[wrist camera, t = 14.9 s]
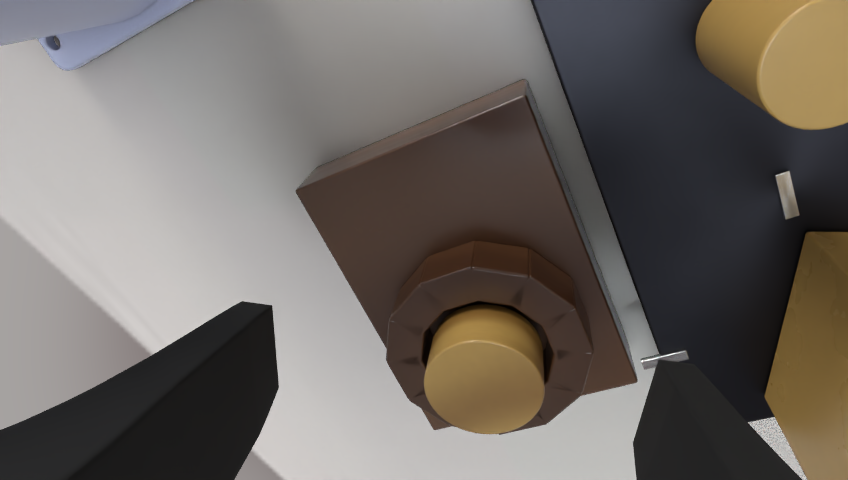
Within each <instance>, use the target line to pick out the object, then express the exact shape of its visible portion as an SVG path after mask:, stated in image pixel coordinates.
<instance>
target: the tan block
mask: <svg viewBox="0 0 848 480" xmlns="http://www.w3.org/2000/svg"><path fill="white" fill-rule="evenodd" d="M765 399H766V401H767V403H768V405H769V407H770V409H771V411H772V413H773V414H774V416H775V418H776V420H777V422H778V424H779V426H780V428H781V430H782V432H783V434H784V435H785V437H786V439H787V441H788V443H789V445H790V447H791V449H792V451H793V453H794V455H795V456H796V458H797V460H798V462H799V464H800V466H801V468H802V470H803V472H804V474H805V476H806V477H807V479H808V480H848V232H806V234H805V238H804V242H803V246H802V250H801V254H800V258H799V262H798V266H797V270H796V274H795V278H794V282H793V286H792V290H791V294H790V298H789V302H788V305H787V309H786V313H785V317H784V321H783V325H782V329H781V333H780V337H779V341H778V345H777V349H776V353H775V357H774V361H773V365H772V369H771V373H770V377H769V381H768V384H767V388H766V392H765Z"/></svg>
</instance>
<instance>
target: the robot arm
mask: <svg viewBox="0 0 848 480" xmlns="http://www.w3.org/2000/svg"><path fill="white" fill-rule="evenodd" d="M193 1H194V0H0V46H2V45H7V44H12V43H17V42H22V41H27V40H32V39H38V40H39V42H40V43H41V45H42V46H43V48H44V49H45V50H46V52H47V53H48V55H49V56H50V58H51V59H52V61H53V62H54V63H55V64H56V65H57V66H58V67H59V68H61V69H62V70H66V71H70V70H74V69H77V68H80V67H81V66H83V65H85V64H87V63H88V62H90V61H92V60H93V59H95V58H97V57H99V56H100V55H102V54H104V53H105V52H107V51H109V50H110V49H112V48H114V47H116V46H117V45H119V44H121V43H122V42H124V41H126V40H128V39H129V38H131V37H133V36H134V35H136V34H138V33H140V32H141V31H143V30H145V29H146V28H148V27H150V26H152V25H153V24H155V23H157V22H158V21H160V20H162V19H164V18H165V17H167V16H169V15H170V14H172V13H174V12H176V11H177V10H179V9H181V8H182V7H184V6H186V5H188V4H189V3H191V2H193ZM54 35H55V36H56V37H57V38H58V39H59V41H60V47H59V46H58V45H57V44H56V43H55V41H54ZM278 388H279V385H278V372H277V360H276V348H275V335H274V323H273V311H272V305H265V304H257V303H250V302H243V301H242V302H240V303H238V304H236V305H235V306H233V307H231V308H229V309H228V310H226V311H224V312H222V313H221V314H219V315H218V316H216V317H214V318H213V319H211V320H209V321H208V322H206V323H204V324H203V325H201V326H200V327H198V328H196V329H195V330H193V331H192V332H190V333H188V334H187V335H185V336H183V337H182V338H180V339H178V340H177V341H175V342H173V343H172V344H170V345H168V346H167V347H165V348H163V349H162V350H160V351H158V352H157V353H155V354H153V355H152V356H150V357H148V358H147V359H145V360H143V361H141V362H139V363H138V364H136V365H134V366H132V367H130V368H128V369H127V370H125V371H123V372H121V373H119V374H117V375H116V376H114V377H112V378H110V379H108V380H107V381H105V382H103V383H101V384H99V385H97V386H96V387H94V388H92V389H90V390H88V391H86V392H84V393H82V394H80V395H78V396H76V397H74V398H72V399H70V400H68V401H66V402H64V403H61V404H59V405H57V406H55V407H53V408H51V409H49V410H46V411H44V412H42V413H40V414H38V415H35V416H33V417H31V418H29V419H26V420H24V421H22V422H19V423H17V424H15V425H12V426H10V427H7V428H4V429H2V430H0V480H234V479H235V477H236V476H237V474H238V472H239V470H240V469H241V467H242V465H243V463H244V461H245V459H246V458H247V456H248V454H249V453H250V451H251V449H252V447H253V445H254V444H255V442H256V440H257V438H258V436H259V434H260V432H261V430H262V428H263V425H264V423H265V421H266V418H267V416H268V413H269V411H270V408H271V406H272V403H273V401H274V398H275V396H276V393H277V391H278ZM633 447H634V457H635V468H636V477H637V480H802V479H801V478H800V477H799V476H798V475H797V474H796V473H795V472H794V471H793V470H792V469H791V468H790V467H789V466H788V465H787V464H786V463H785V462H784V461H783V460H782V459H781V458H780V457H779V456H778V454H777V453H776V452H775V451H774V450H773V449H772V448H771V447H770V446H769V445H768V444H767V443H766V442H765V441H764V440H763V439H762V438H761V437H760V435H759V434H758V433H757V432H756V431H755V430H754V429H753V428H752V427H751V426H750V425H749V424H748V422H747V421H746V420H745V419H744V418H743V417H742V416H741V415H740V414H739V413H738V411H737V410H736V409H735V408H734V407H733V406H732V405H731V404H730V403H729V401H728V400H727V399H726V398H725V397H724V396H723V395H722V394H721V393H720V391H719V390H718V389H717V388H716V387H715V386H714V385H713V384H712V383H711V381H710V380H709V379H708V378H707V377H706V376H705V375H704V374H703V373H702V372H701V371H700V370H699V369H698V367H697V366H696V365H695V364H689V363H682V362H675V361H667V360H660V359H659V360H658V363H657V366H656V370H655V373H654V376H653V379H652V383H651V386H650V389H649V392H648V396H647V399H646V402H645V406H644V409H643V412H642V415H641V419H640V422H639V425H638V429H637V432H636V435H635V438H634V442H633Z"/></svg>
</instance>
